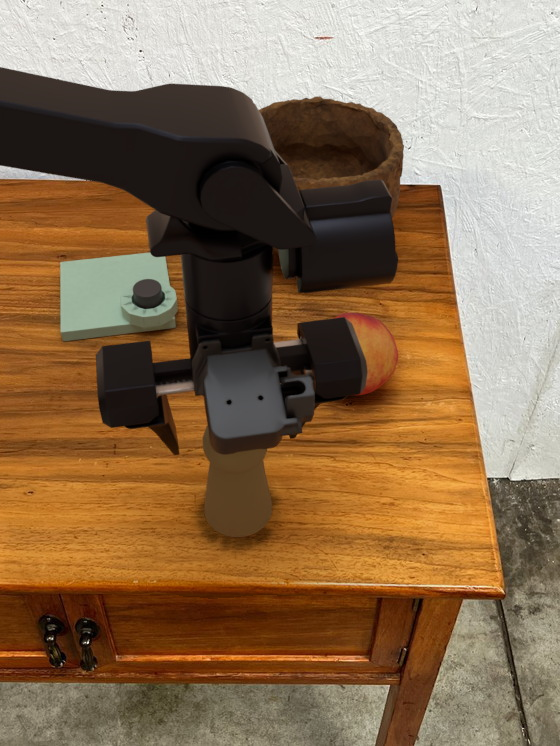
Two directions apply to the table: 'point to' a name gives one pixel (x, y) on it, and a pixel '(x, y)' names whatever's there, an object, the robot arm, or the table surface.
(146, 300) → the dark brown cylinder
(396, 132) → the bowl
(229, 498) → the brown game pawn
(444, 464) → the table surface
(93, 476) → the table surface
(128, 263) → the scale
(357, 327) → the fruit
